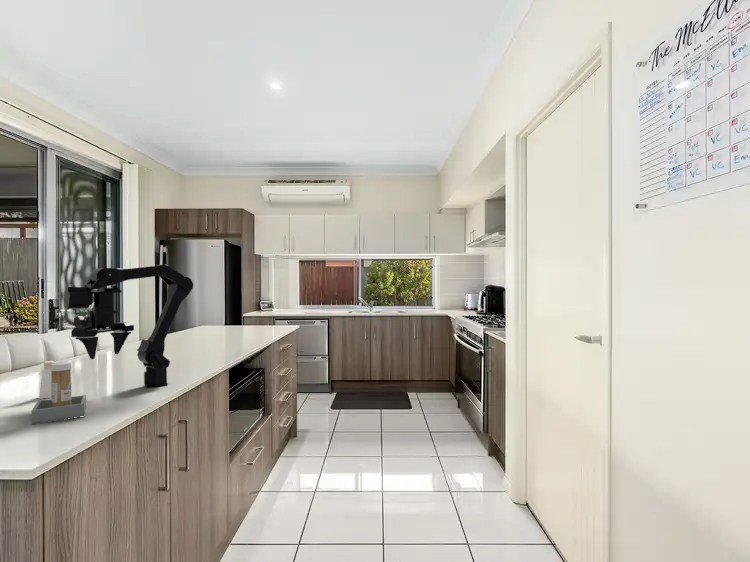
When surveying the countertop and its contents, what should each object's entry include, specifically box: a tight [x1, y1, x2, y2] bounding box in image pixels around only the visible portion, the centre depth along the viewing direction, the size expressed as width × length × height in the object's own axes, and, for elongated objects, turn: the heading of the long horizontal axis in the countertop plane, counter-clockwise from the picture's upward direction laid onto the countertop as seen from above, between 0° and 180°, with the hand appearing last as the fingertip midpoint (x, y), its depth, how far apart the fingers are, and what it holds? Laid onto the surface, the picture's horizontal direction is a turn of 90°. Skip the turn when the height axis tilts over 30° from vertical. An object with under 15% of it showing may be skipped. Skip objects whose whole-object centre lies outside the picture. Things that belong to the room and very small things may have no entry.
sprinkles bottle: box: [51, 361, 72, 407], centre depth 118 cm, size 5×5×13 cm
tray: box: [31, 394, 87, 426], centre depth 118 cm, size 11×11×4 cm
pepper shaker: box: [38, 360, 56, 399], centre depth 139 cm, size 5×5×11 cm
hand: (104, 356), depth 140 cm, fingers open, 9 cm apart
